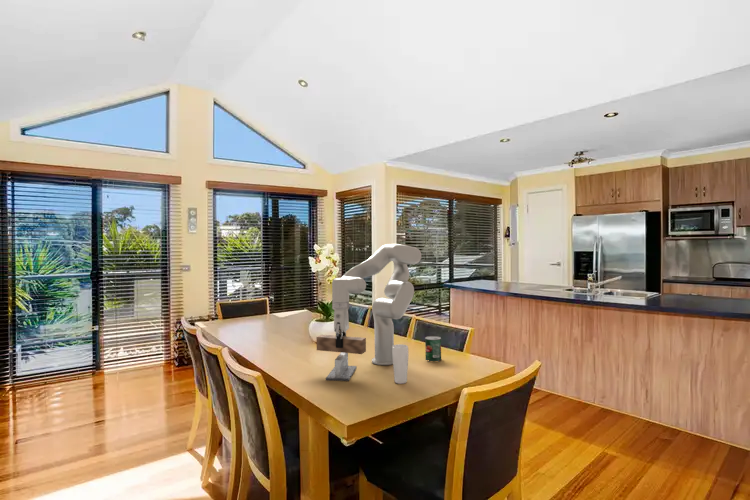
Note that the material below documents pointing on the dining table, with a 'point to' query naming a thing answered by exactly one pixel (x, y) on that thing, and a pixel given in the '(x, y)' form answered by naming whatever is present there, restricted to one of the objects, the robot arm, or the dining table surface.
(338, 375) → the ridge stand
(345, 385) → the dining table surface
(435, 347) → the canned tomato
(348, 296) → the robot arm
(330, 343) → the brown wooden block
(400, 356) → the drinking glass
